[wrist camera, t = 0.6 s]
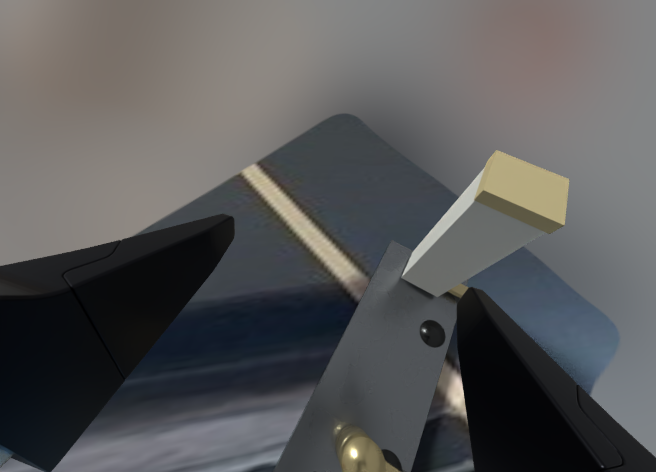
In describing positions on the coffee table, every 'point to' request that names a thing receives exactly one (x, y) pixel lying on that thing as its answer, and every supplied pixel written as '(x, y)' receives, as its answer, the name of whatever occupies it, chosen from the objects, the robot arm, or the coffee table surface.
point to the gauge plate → (376, 379)
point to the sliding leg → (488, 224)
